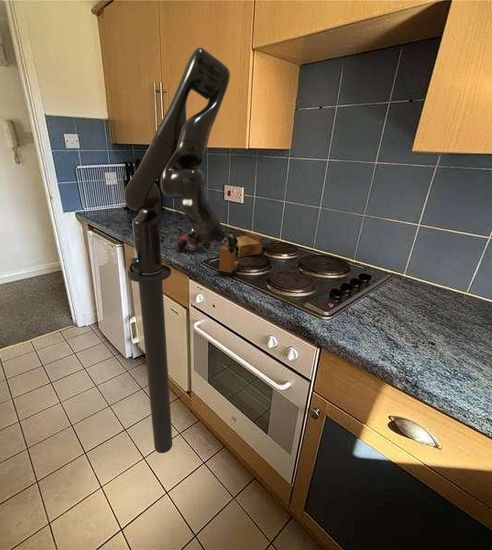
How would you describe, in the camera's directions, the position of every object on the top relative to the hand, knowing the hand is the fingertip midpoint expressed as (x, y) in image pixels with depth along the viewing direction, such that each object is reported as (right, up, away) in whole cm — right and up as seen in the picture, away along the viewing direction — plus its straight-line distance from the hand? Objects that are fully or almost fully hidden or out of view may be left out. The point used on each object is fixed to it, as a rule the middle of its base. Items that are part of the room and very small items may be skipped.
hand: (220, 248), depth 100 cm
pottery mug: (-15, +2, +34) cm, 37 cm away
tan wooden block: (+10, +2, +34) cm, 36 cm away
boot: (+3, -7, +13) cm, 15 cm away
